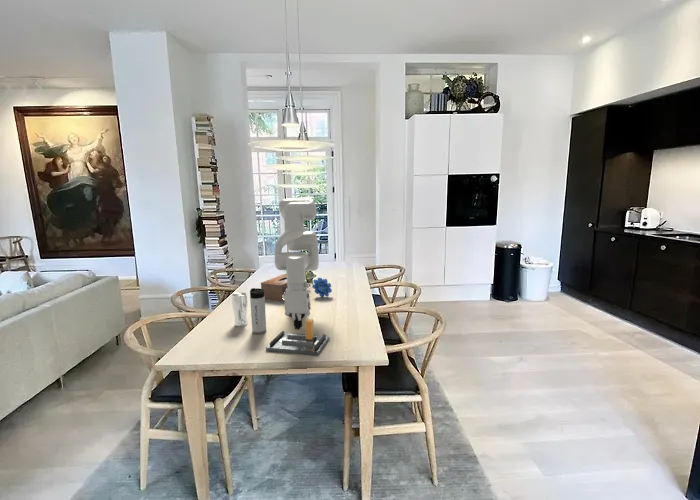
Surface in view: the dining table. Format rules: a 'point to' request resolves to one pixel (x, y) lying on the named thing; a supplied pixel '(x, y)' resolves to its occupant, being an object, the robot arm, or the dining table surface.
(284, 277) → the tissue box cover
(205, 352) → the dining table surface
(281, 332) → the tray
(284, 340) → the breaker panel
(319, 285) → the blue lobed wheel
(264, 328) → the travel mug
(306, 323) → the lever
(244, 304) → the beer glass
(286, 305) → the robot arm
